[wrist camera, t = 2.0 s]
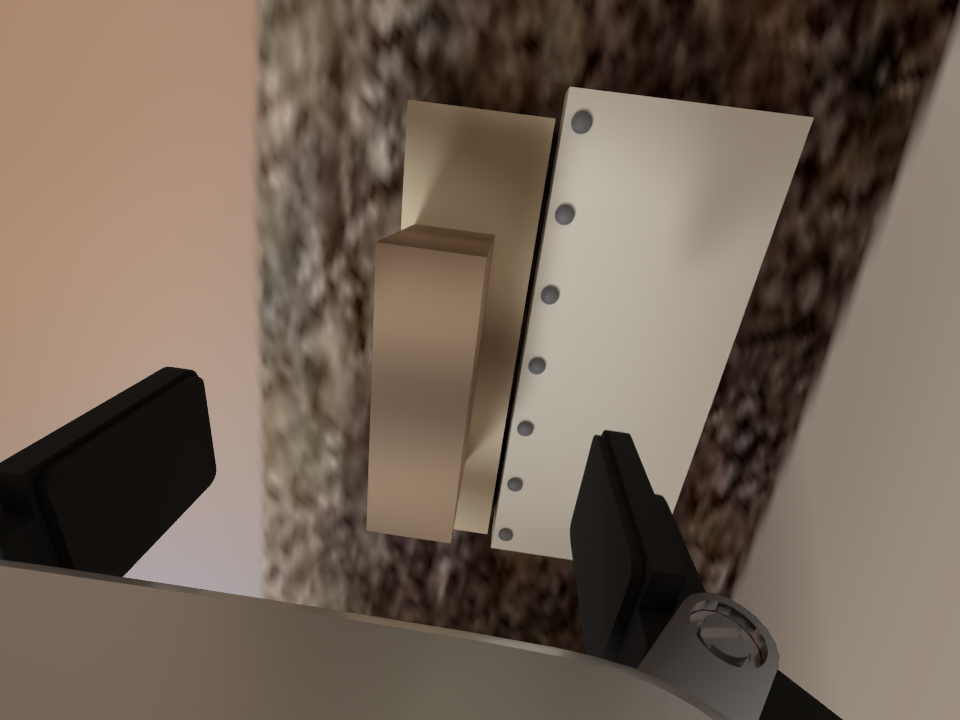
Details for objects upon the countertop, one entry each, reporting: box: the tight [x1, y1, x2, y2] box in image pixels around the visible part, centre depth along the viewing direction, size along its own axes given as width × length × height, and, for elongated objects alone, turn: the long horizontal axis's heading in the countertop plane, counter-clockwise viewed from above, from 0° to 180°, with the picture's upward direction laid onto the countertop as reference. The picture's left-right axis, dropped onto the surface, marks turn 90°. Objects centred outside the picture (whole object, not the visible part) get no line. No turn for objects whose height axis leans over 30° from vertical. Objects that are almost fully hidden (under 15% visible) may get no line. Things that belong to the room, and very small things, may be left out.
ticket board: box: [491, 87, 814, 560], centre depth 19 cm, size 20×8×2 cm, turn 173°
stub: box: [366, 100, 555, 543], centre depth 17 cm, size 18×5×6 cm, turn 173°
